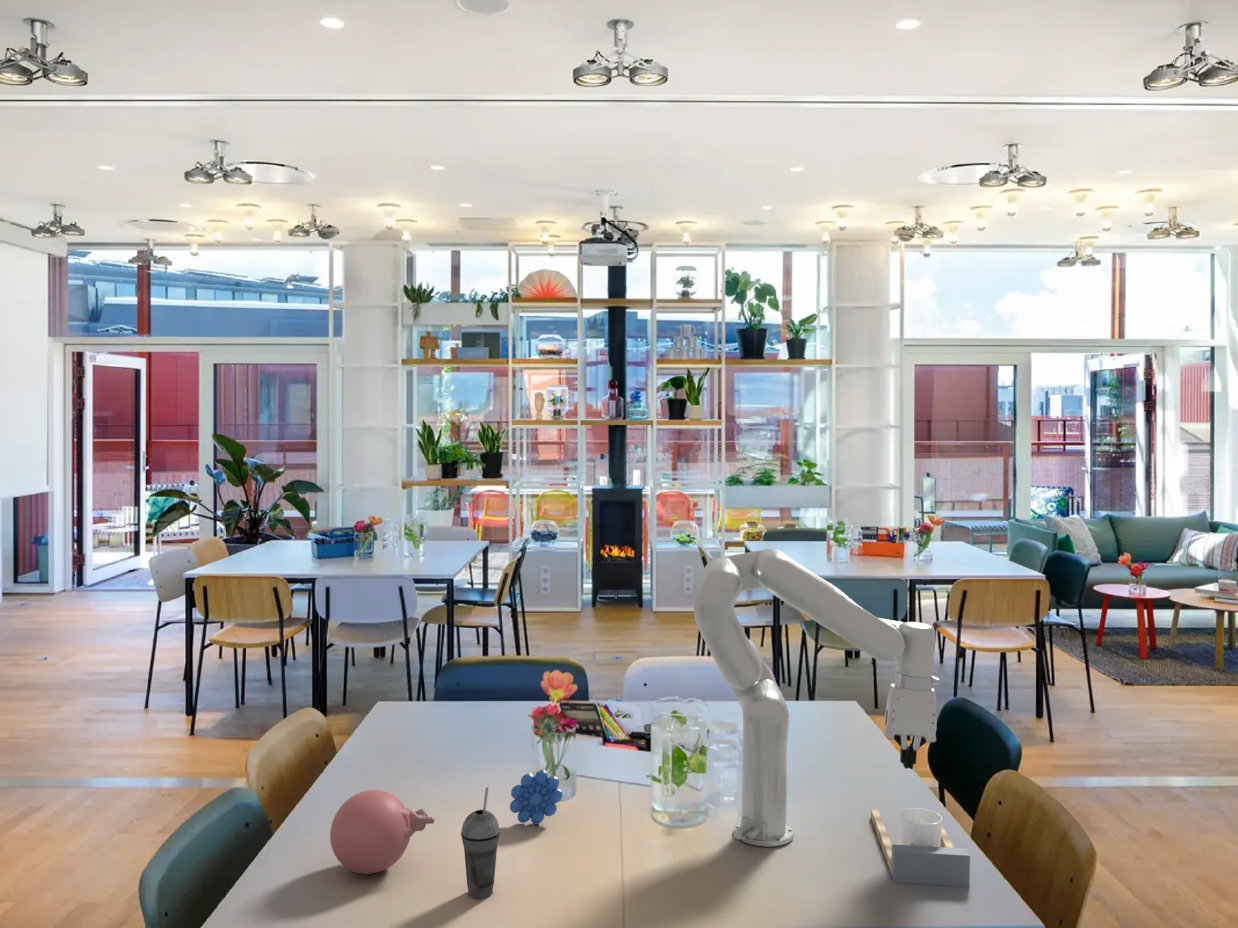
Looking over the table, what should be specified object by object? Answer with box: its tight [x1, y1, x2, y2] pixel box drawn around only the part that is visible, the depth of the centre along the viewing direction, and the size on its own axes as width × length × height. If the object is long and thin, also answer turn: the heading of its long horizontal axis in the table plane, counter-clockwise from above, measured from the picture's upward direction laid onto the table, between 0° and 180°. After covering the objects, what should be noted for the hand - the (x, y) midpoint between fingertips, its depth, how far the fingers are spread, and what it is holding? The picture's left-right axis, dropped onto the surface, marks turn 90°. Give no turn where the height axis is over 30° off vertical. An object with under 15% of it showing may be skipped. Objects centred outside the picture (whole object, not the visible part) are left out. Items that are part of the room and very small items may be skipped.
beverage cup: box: [460, 787, 501, 900], centre depth 174 cm, size 7×7×20 cm
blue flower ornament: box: [509, 769, 564, 825], centre depth 206 cm, size 12×7×12 cm, turn 89°
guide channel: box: [870, 808, 955, 873], centre depth 195 cm, size 27×14×2 cm, turn 173°
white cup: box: [900, 807, 943, 847], centre depth 186 cm, size 8×8×10 cm
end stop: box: [890, 843, 971, 887], centre depth 180 cm, size 3×14×6 cm, turn 83°
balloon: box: [329, 789, 435, 875], centre depth 183 cm, size 15×20×15 cm
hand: (907, 766), depth 198 cm, fingers closed
